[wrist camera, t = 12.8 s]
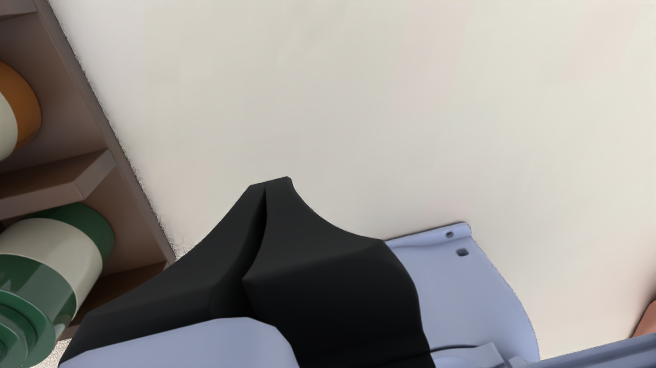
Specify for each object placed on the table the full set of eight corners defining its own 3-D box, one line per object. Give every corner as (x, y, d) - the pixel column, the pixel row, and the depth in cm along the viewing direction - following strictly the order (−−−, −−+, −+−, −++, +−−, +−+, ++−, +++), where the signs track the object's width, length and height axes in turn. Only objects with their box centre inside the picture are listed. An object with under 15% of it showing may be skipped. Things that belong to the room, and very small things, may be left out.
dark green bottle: (90, 188, 21) (-57, 345, 12) (131, 260, 24) (34, 437, 14) (0, 210, 21) (-217, 384, 12) (50, 279, 24) (-100, 470, 14)
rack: (43, -8, 18) (-116, -6, 11) (176, 258, 25) (136, 366, 18) (-125, 32, 18) (-399, 62, 11) (57, 287, 25) (-31, 407, 18)
